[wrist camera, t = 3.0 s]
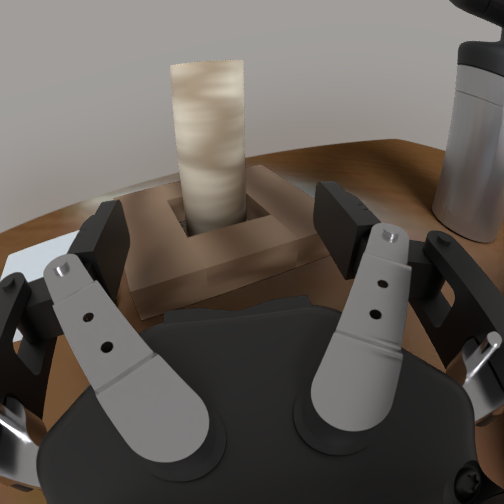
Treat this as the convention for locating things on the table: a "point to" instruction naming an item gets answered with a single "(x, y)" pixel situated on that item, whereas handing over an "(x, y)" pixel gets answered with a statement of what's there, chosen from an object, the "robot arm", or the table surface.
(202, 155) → the birch post
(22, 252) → the white square tile
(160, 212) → the walnut pocket board
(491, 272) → the table surface
